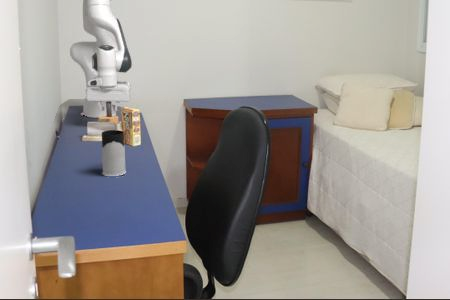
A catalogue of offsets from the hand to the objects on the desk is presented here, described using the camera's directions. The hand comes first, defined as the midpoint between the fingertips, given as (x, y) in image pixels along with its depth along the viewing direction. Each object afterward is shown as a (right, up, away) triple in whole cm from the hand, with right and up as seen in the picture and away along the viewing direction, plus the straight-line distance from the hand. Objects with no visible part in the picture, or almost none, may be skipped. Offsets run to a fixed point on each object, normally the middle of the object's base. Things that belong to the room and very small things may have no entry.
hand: (108, 110), depth 251 cm
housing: (0, -11, -9) cm, 14 cm away
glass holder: (+15, -26, -59) cm, 67 cm away
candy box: (+14, -16, -21) cm, 30 cm away
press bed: (0, -11, -6) cm, 13 cm away
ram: (0, -8, +1) cm, 8 cm away
